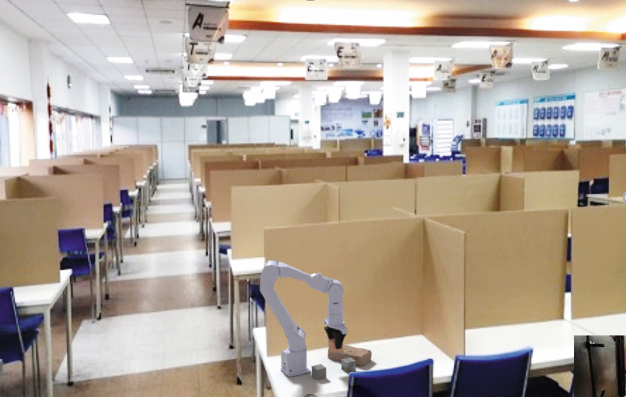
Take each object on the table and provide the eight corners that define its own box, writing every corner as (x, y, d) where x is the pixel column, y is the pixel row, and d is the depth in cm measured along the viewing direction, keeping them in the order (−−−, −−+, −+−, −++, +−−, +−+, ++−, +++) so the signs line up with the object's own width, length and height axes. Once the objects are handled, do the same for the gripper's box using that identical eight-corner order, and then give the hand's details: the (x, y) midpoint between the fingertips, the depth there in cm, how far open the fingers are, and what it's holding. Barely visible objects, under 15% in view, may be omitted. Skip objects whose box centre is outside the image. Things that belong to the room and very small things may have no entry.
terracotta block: (333, 353, 212) (333, 342, 211) (328, 349, 215) (328, 339, 215) (342, 351, 214) (342, 341, 213) (337, 347, 217) (337, 337, 217)
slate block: (346, 373, 213) (346, 363, 212) (341, 369, 216) (341, 359, 216) (355, 371, 215) (355, 360, 214) (350, 367, 218) (350, 357, 218)
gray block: (316, 380, 207) (316, 369, 206) (311, 376, 210) (311, 366, 210) (326, 378, 209) (326, 367, 208) (321, 374, 212) (320, 364, 212)
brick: (326, 358, 228) (326, 347, 227) (337, 352, 234) (337, 341, 234) (361, 368, 218) (361, 356, 218) (372, 361, 225) (372, 349, 225)
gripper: (354, 315, 208) (354, 350, 210) (334, 305, 221) (335, 339, 223) (338, 318, 205) (338, 354, 206) (319, 308, 218) (319, 342, 219)
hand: (335, 346), depth 214 cm, fingers closed on terracotta block, 4 cm apart
